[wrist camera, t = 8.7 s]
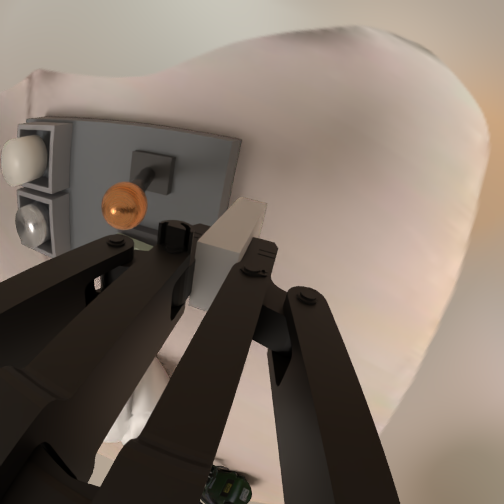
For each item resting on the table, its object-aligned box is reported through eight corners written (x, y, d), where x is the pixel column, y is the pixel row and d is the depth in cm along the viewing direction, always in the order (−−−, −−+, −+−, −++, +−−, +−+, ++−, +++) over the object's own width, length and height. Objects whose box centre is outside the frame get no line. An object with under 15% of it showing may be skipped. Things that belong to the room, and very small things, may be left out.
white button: (22, 176, 23) (1, 183, 20) (23, 133, 21) (1, 138, 18) (46, 181, 22) (24, 189, 20) (48, 135, 20) (24, 140, 18)
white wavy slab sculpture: (216, 377, 35) (189, 444, 26) (197, 432, 42) (177, 482, 33) (20, 278, 37) (-23, 311, 27) (36, 346, 44) (5, 379, 35)
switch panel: (43, 226, 31) (13, 242, 26) (45, 116, 25) (9, 121, 20) (213, 283, 29) (194, 315, 24) (241, 139, 23) (222, 143, 18)
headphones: (259, 490, 39) (157, 444, 43) (231, 537, 34) (136, 492, 39) (264, 467, 51) (180, 431, 55) (240, 509, 47) (160, 474, 51)
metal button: (35, 232, 27) (17, 242, 24) (33, 195, 25) (13, 203, 22) (59, 242, 27) (41, 253, 24) (58, 202, 25) (37, 212, 22)
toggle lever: (131, 187, 22) (94, 235, 14) (134, 155, 21) (95, 187, 13) (162, 191, 22) (141, 240, 15) (166, 159, 21) (145, 192, 13)
